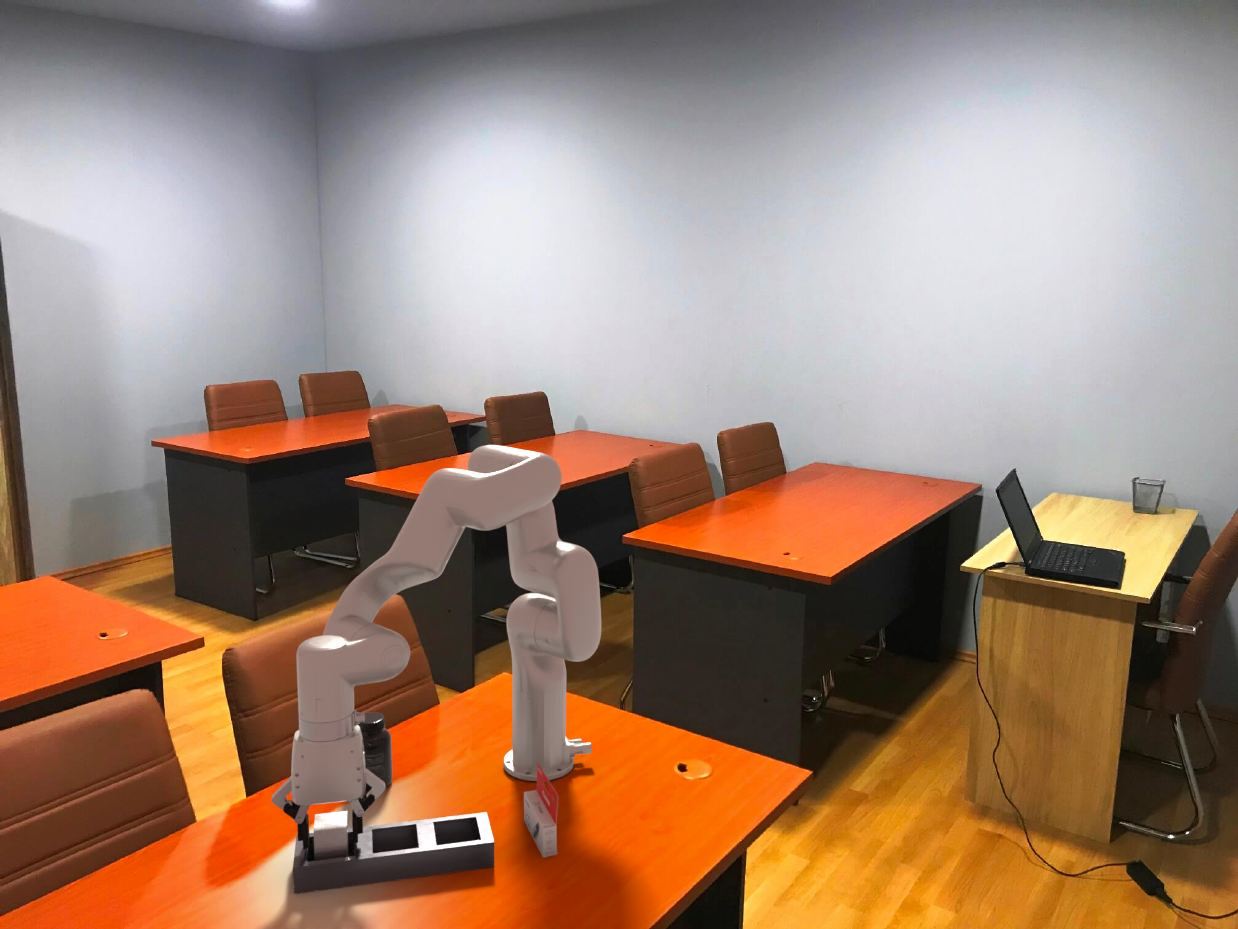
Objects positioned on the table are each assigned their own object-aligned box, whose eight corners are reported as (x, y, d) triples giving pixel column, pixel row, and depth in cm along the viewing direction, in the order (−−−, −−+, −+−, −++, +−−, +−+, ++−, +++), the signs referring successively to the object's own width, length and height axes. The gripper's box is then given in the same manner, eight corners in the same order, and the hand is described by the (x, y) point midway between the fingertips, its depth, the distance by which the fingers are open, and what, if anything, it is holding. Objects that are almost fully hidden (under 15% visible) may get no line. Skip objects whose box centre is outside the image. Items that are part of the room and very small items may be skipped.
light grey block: (348, 860, 141) (347, 811, 140) (348, 878, 137) (346, 827, 136) (316, 864, 140) (315, 814, 139) (315, 882, 136) (313, 831, 135)
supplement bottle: (398, 775, 167) (396, 710, 165) (384, 794, 160) (383, 727, 158) (360, 772, 168) (358, 708, 166) (345, 792, 161) (343, 725, 159)
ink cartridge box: (542, 859, 143) (543, 798, 141) (522, 821, 153) (523, 764, 152) (558, 855, 144) (559, 795, 142) (537, 818, 154) (538, 762, 153)
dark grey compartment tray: (486, 835, 149) (486, 812, 148) (494, 867, 141) (494, 842, 140) (297, 859, 141) (296, 834, 141) (293, 894, 133) (292, 867, 133)
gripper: (389, 707, 141) (391, 820, 144) (264, 718, 136) (269, 834, 139) (390, 729, 133) (393, 847, 136) (259, 742, 129) (265, 863, 132)
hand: (331, 840), depth 138 cm, fingers open, 6 cm apart
